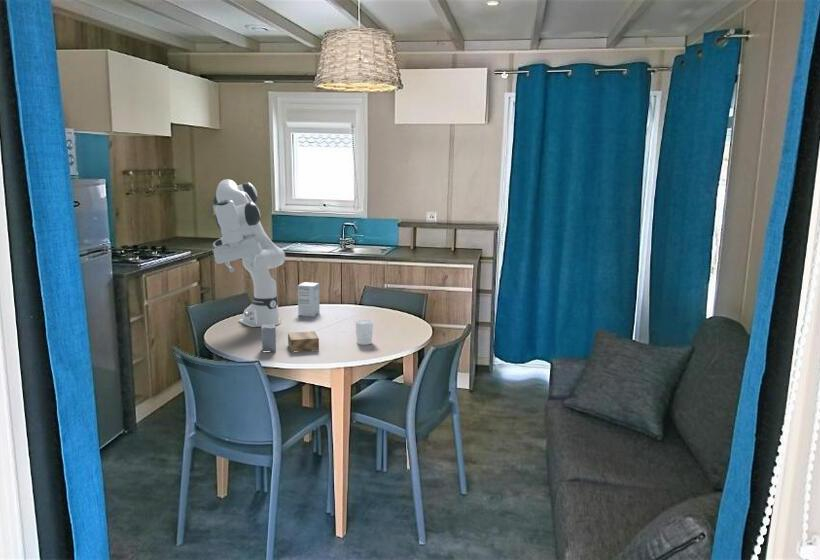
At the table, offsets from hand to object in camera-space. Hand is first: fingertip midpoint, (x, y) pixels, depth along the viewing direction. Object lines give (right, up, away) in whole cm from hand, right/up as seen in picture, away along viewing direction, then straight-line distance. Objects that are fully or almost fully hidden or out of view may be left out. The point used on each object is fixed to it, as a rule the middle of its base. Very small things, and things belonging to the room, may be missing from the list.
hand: (243, 269), depth 274 cm
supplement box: (+16, -24, +75) cm, 81 cm away
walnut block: (+24, -35, +12) cm, 44 cm away
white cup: (+50, -34, +21) cm, 64 cm away
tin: (+9, -36, +7) cm, 38 cm away
